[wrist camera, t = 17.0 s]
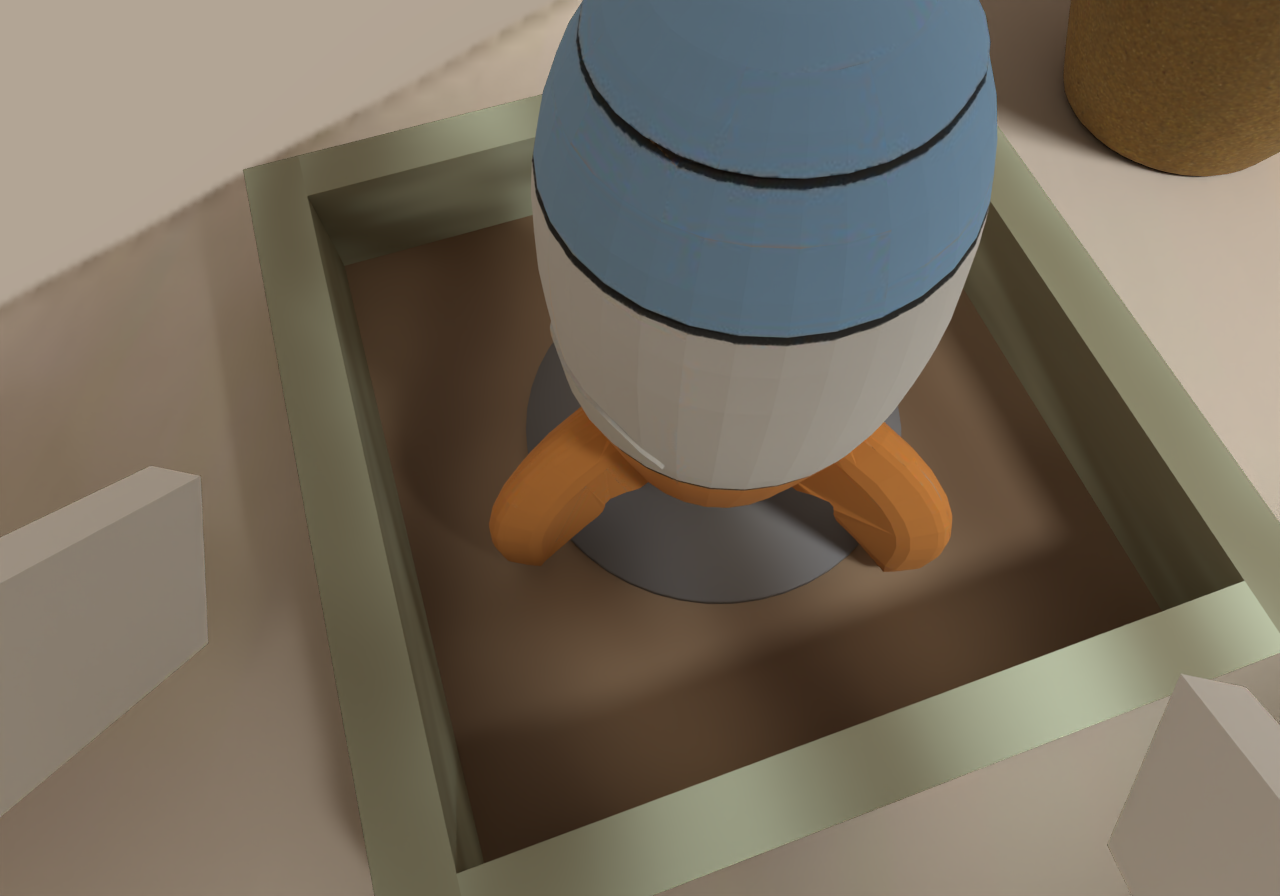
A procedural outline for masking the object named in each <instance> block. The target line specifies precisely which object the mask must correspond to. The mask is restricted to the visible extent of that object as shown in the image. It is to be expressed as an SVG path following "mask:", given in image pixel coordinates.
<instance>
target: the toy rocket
mask: <svg viewBox="0 0 1280 896" xmlns="http://www.w3.org/2000/svg"><path fill="white" fill-rule="evenodd" d="M990 43H991V42H990V36H989V31H988V25H987V19H986V14H985V12H984V10H983V8H982V6H981V3H980V1H979V0H583V1H582V3H581V4H580V6H579V8H578V9H577V11H576V12H575V14H574V15H573V17H572V18H571V20H570V22H569V23H568V26H567V28H566V31H565V33H564V35H563V38H562V40H561V42H560V45H559V47H558V50H557V52H556V55H555V58H554V61H553V64H552V67H551V70H550V73H549V76H548V79H547V82H546V85H545V87H544V90H543V94H542V100H541V105H540V111H539V117H538V123H537V128H536V135H535V142H534V149H533V156H532V173H531V201H532V212H533V224H534V235H535V244H536V253H537V261H538V269H539V274H540V278H541V283H542V287H543V292H544V296H545V300H546V304H547V308H548V312H549V315H550V319H551V323H550V332H551V337H552V339H553V342H554V345H555V347H556V350H557V353H558V356H559V358H560V361H561V364H562V367H563V370H564V372H565V375H566V378H567V380H568V383H569V385H570V388H571V390H572V392H573V394H574V396H575V397H576V399H577V400H578V402H579V404H580V405H581V407H580V408H579V409H578V410H576V411H575V412H574V413H573V414H572V415H570V416H569V417H568V418H567V419H565V420H564V421H563V422H562V423H561V424H559V425H558V426H557V427H556V428H555V429H553V430H552V431H551V432H550V433H549V434H548V435H547V436H546V437H545V438H544V439H543V440H542V441H541V442H540V443H539V444H538V445H537V446H536V447H535V448H534V449H533V450H532V451H531V452H530V453H529V454H528V455H527V457H526V458H525V459H524V460H523V461H522V462H521V464H520V465H519V466H518V467H517V469H516V470H515V471H514V472H513V474H512V475H511V476H510V478H509V479H508V480H507V481H506V483H505V484H504V486H503V488H502V490H501V491H500V493H499V495H498V497H497V499H496V501H495V503H494V505H493V507H492V512H491V517H490V521H489V529H490V533H491V538H492V542H493V544H494V546H495V547H496V549H497V550H498V551H499V552H500V553H501V554H502V555H503V556H504V557H505V558H506V559H507V560H508V561H510V562H515V563H521V564H526V565H533V566H542V564H543V563H544V562H545V561H546V560H547V559H548V558H549V557H551V556H552V555H553V554H554V553H555V552H556V551H557V550H559V549H560V548H561V547H562V546H563V545H564V544H566V543H567V542H568V541H569V540H570V539H571V538H572V537H574V536H575V535H576V534H577V533H578V532H579V531H580V530H582V529H583V528H584V527H585V526H586V525H588V524H589V523H590V522H592V521H593V520H594V519H595V518H597V517H598V516H599V515H600V514H601V513H602V512H603V510H604V507H605V504H606V503H607V502H608V501H609V500H610V499H611V498H613V497H616V496H618V495H621V494H623V493H626V492H629V491H633V490H636V489H639V488H641V487H642V486H644V485H645V484H647V483H648V482H649V483H650V484H652V485H653V486H655V487H656V488H658V489H659V490H661V491H662V492H664V493H665V494H668V495H670V496H672V497H674V498H677V499H679V500H681V501H684V502H687V503H691V504H696V505H700V506H704V507H720V508H730V507H737V506H744V505H750V504H753V503H756V502H759V501H762V500H765V499H767V498H770V497H772V496H774V495H776V494H778V493H780V492H782V491H784V490H786V489H788V488H790V487H793V488H794V489H795V490H797V491H799V492H803V493H806V494H810V495H814V496H816V497H818V498H821V499H823V500H825V501H827V502H830V504H831V505H832V506H833V510H834V513H833V515H834V517H835V519H836V521H837V522H838V523H839V524H840V525H841V526H842V527H843V528H844V529H845V530H846V531H847V532H848V533H849V534H850V535H851V536H852V537H853V538H854V539H855V540H856V541H857V542H858V543H859V544H860V545H861V546H862V548H863V549H864V550H865V551H866V552H867V553H868V554H869V556H870V557H871V558H872V559H873V560H874V561H875V562H876V564H877V565H878V566H879V567H880V568H881V570H882V571H883V572H896V571H904V570H912V569H919V568H921V567H923V566H925V565H926V564H928V563H929V562H931V561H932V560H934V559H936V558H937V557H938V556H939V555H940V554H941V553H942V551H943V549H944V548H945V546H946V545H947V543H948V541H949V539H950V537H951V528H952V512H951V509H950V505H949V502H948V498H947V495H946V494H945V492H944V490H943V488H942V487H941V485H940V483H939V482H938V480H937V478H936V476H935V475H934V473H933V471H932V470H931V469H930V467H929V466H928V465H927V464H926V463H925V462H924V460H923V459H922V458H921V457H920V456H919V455H918V453H917V452H916V451H915V450H914V449H913V448H912V447H911V446H910V445H909V444H908V443H907V442H906V441H905V440H904V439H902V438H901V437H900V436H899V435H898V434H897V433H896V432H895V431H894V430H893V429H892V428H890V427H889V426H888V425H887V424H886V423H885V422H884V421H885V420H886V419H887V418H888V417H889V416H890V414H891V413H892V412H893V411H894V410H895V409H896V407H897V406H898V404H899V403H900V402H901V400H902V399H903V398H904V396H905V395H906V393H907V392H908V391H909V389H910V388H911V387H912V385H913V384H914V383H915V381H916V379H917V378H918V376H919V375H920V373H921V372H922V370H923V369H924V367H925V366H926V364H927V362H928V361H929V359H930V358H931V356H932V354H933V353H934V351H935V349H936V348H937V346H938V344H939V342H940V340H941V338H942V336H943V334H944V332H945V330H946V328H947V326H948V324H949V322H950V321H951V318H952V316H953V313H954V310H955V308H956V305H957V302H958V300H959V297H960V295H961V292H962V289H963V287H964V284H965V281H966V279H967V276H968V273H969V270H970V268H971V265H972V262H973V260H974V257H975V254H976V251H977V249H978V246H979V243H980V239H981V236H982V232H983V229H984V225H985V222H986V218H987V215H988V211H989V204H990V198H991V191H992V184H993V177H994V169H995V159H996V148H997V94H996V89H995V83H994V77H993V72H992V66H991V60H990V55H989V52H990Z"/></svg>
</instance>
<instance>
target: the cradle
mask: <svg viewBox="0 0 1280 896" xmlns="http://www.w3.org/2000/svg"><path fill="white" fill-rule="evenodd" d="M541 100H542V94H541V95H537V96H534V97H530V98H526V99H522V100H518V101H514V102H510V103H506V104H502V105H498V106H494V107H490V108H486V109H482V110H478V111H474V112H470V113H466V114H462V115H458V116H454V117H450V118H446V119H442V120H438V121H434V122H430V123H426V124H422V125H418V126H414V127H410V128H406V129H402V130H398V131H394V132H391V133H387V134H383V135H379V136H375V137H371V138H367V139H363V140H359V141H355V142H351V143H347V144H343V145H339V146H335V147H331V148H327V149H323V150H319V151H315V152H311V153H307V154H303V155H299V156H295V157H291V158H287V159H283V160H279V161H275V162H271V163H267V164H263V165H259V166H255V167H251V168H248V169H244V170H243V172H244V177H245V183H246V188H247V194H248V200H249V205H250V211H251V216H252V222H253V227H254V233H255V238H256V244H257V249H258V255H259V260H260V266H261V271H262V277H263V282H264V288H265V293H266V299H267V305H268V310H269V316H270V321H271V327H272V332H273V338H274V343H275V349H276V354H277V360H278V365H279V371H280V376H281V382H282V387H283V393H284V398H285V404H286V410H287V415H288V421H289V426H290V432H291V437H292V443H293V448H294V454H295V459H296V465H297V470H298V476H299V481H300V487H301V492H302V498H303V503H304V509H305V515H306V520H307V526H308V531H309V537H310V542H311V548H312V553H313V559H314V564H315V570H316V575H317V581H318V586H319V592H320V597H321V603H322V609H323V614H324V620H325V625H326V631H327V636H328V642H329V647H330V653H331V658H332V664H333V669H334V675H335V680H336V686H337V691H338V697H339V702H340V708H341V714H342V719H343V725H344V730H345V736H346V741H347V747H348V752H349V758H350V763H351V769H352V774H353V780H354V785H355V791H356V796H357V802H358V807H359V813H360V819H361V824H362V830H363V835H364V841H365V846H366V852H367V857H368V863H369V868H370V874H371V879H372V885H373V890H374V896H653V895H656V894H658V893H661V892H664V891H666V890H669V889H671V888H674V887H677V886H679V885H682V884H684V883H687V882H689V881H692V880H695V879H697V878H700V877H702V876H705V875H708V874H710V873H713V872H715V871H718V870H720V869H723V868H726V867H728V866H731V865H733V864H736V863H739V862H741V861H744V860H746V859H749V858H751V857H754V856H757V855H759V854H762V853H764V852H767V851H770V850H772V849H775V848H777V847H780V846H782V845H785V844H788V843H790V842H793V841H795V840H798V839H801V838H803V837H806V836H808V835H811V834H813V833H816V832H819V831H821V830H824V829H826V828H829V827H831V826H834V825H837V824H839V823H842V822H844V821H847V820H850V819H852V818H855V817H857V816H860V815H862V814H865V813H868V812H870V811H873V810H875V809H878V808H881V807H883V806H886V805H888V804H891V803H893V802H896V801H899V800H901V799H904V798H906V797H909V796H912V795H914V794H917V793H919V792H922V791H924V790H927V789H930V788H932V787H935V786H937V785H940V784H943V783H945V782H948V781H950V780H953V779H955V778H958V777H961V776H963V775H966V774H968V773H971V772H974V771H976V770H979V769H981V768H984V767H986V766H989V765H992V764H994V763H997V762H999V761H1002V760H1005V759H1007V758H1010V757H1012V756H1015V755H1017V754H1020V753H1023V752H1025V751H1028V750H1030V749H1033V748H1035V747H1038V746H1041V745H1043V744H1046V743H1048V742H1051V741H1054V740H1056V739H1059V738H1061V737H1064V736H1066V735H1069V734H1072V733H1074V732H1077V731H1079V730H1082V729H1085V728H1087V727H1090V726H1092V725H1095V724H1097V723H1100V722H1103V721H1105V720H1108V719H1110V718H1113V717H1116V716H1118V715H1121V714H1123V713H1126V712H1128V711H1131V710H1134V709H1136V708H1139V707H1141V706H1144V705H1147V704H1149V703H1152V702H1154V701H1157V700H1159V699H1162V698H1165V697H1167V696H1170V695H1172V693H1173V690H1174V688H1175V686H1176V683H1177V681H1178V679H1179V677H1180V674H1184V675H1189V676H1194V677H1199V678H1204V679H1209V680H1211V679H1214V678H1216V677H1219V676H1221V675H1224V674H1227V673H1229V672H1232V671H1234V670H1237V669H1239V668H1242V667H1245V666H1247V665H1250V664H1252V663H1255V662H1258V661H1260V660H1263V659H1265V658H1268V657H1270V656H1273V655H1276V654H1278V653H1280V523H1279V521H1278V520H1277V518H1276V517H1275V516H1274V514H1273V513H1272V511H1271V510H1270V509H1269V507H1268V506H1267V504H1266V503H1265V502H1264V500H1263V499H1262V497H1261V496H1260V494H1259V493H1258V492H1257V490H1256V489H1255V487H1254V486H1253V485H1252V483H1251V482H1250V480H1249V479H1248V478H1247V476H1246V475H1245V473H1244V472H1243V471H1242V469H1241V468H1240V466H1239V465H1238V463H1237V462H1236V461H1235V459H1234V458H1233V456H1232V455H1231V454H1230V452H1229V451H1228V449H1227V448H1226V447H1225V445H1224V444H1223V442H1222V441H1221V440H1220V438H1219V437H1218V435H1217V434H1216V433H1215V431H1214V430H1213V428H1212V427H1211V425H1210V424H1209V423H1208V421H1207V420H1206V418H1205V417H1204V416H1203V414H1202V413H1201V411H1200V410H1199V409H1198V407H1197V406H1196V404H1195V403H1194V402H1193V400H1192V399H1191V397H1190V396H1189V394H1188V393H1187V392H1186V390H1185V389H1184V387H1183V386H1182V385H1181V383H1180V382H1179V380H1178V379H1177V378H1176V376H1175V375H1174V373H1173V372H1172V371H1171V369H1170V368H1169V366H1168V365H1167V363H1166V362H1165V361H1164V359H1163V358H1162V356H1161V355H1160V354H1159V352H1158V351H1157V349H1156V348H1155V347H1154V345H1153V344H1152V342H1151V341H1150V340H1149V338H1148V337H1147V335H1146V334H1145V333H1144V331H1143V330H1142V328H1141V327H1140V325H1139V324H1138V323H1137V321H1136V320H1135V318H1134V317H1133V316H1132V314H1131V313H1130V311H1129V310H1128V309H1127V307H1126V306H1125V304H1124V303H1123V302H1122V300H1121V299H1120V297H1119V296H1118V294H1117V293H1116V292H1115V290H1114V289H1113V287H1112V286H1111V285H1110V283H1109V282H1108V280H1107V279H1106V278H1105V276H1104V275H1103V273H1102V272H1101V271H1100V269H1099V268H1098V266H1097V265H1096V263H1095V262H1094V261H1093V259H1092V258H1091V256H1090V255H1089V254H1088V252H1087V251H1086V249H1085V248H1084V247H1083V245H1082V244H1081V242H1080V241H1079V240H1078V238H1077V237H1076V235H1075V234H1074V232H1073V231H1072V230H1071V228H1070V227H1069V225H1068V224H1067V223H1066V221H1065V220H1064V218H1063V217H1062V216H1061V214H1060V213H1059V211H1058V210H1057V209H1056V207H1055V206H1054V204H1053V203H1052V202H1051V200H1050V199H1049V197H1048V196H1047V194H1046V193H1045V192H1044V190H1043V189H1042V187H1041V186H1040V185H1039V183H1038V182H1037V180H1036V179H1035V178H1034V176H1033V175H1032V173H1031V172H1030V171H1029V169H1028V168H1027V166H1026V165H1025V163H1024V162H1023V161H1022V159H1021V158H1020V156H1019V155H1018V154H1017V152H1016V151H1015V149H1014V148H1013V147H1012V145H1011V144H1010V142H1009V141H1008V140H1007V138H1006V137H1005V135H1004V134H1003V132H1002V131H1001V130H1000V128H999V127H998V125H997V148H996V159H995V169H994V177H993V184H992V191H991V198H990V204H989V211H988V215H987V218H986V222H985V225H984V229H983V232H982V236H981V239H980V243H979V246H978V249H977V251H976V254H975V257H974V260H973V262H972V265H971V268H970V270H969V273H968V276H967V279H966V281H965V284H964V287H963V289H962V292H961V295H960V297H959V300H958V302H957V305H956V308H955V310H954V313H953V316H952V318H951V321H950V322H949V324H948V326H947V328H946V330H945V332H944V334H943V336H942V338H941V340H940V342H939V344H938V346H937V348H936V349H935V351H934V353H933V354H932V356H931V358H930V359H929V361H928V362H927V364H926V366H925V367H924V369H923V370H922V372H921V373H920V375H919V376H918V378H917V379H916V381H915V383H914V384H913V385H912V387H911V388H910V389H909V391H908V392H907V393H906V395H905V396H904V398H903V399H902V400H901V402H900V403H899V404H898V406H897V407H896V409H895V410H894V411H893V412H892V413H891V414H890V416H889V417H888V418H887V419H886V420H885V421H884V422H885V423H886V424H887V425H888V426H889V427H890V428H892V429H893V430H894V431H895V432H896V433H897V434H898V435H899V436H900V437H901V438H902V439H904V440H905V441H906V442H907V443H908V444H909V445H910V446H911V447H912V448H913V449H914V450H915V451H916V452H917V453H918V455H919V456H920V457H921V458H922V459H923V460H924V462H925V463H926V464H927V465H928V466H929V467H930V469H931V470H932V471H933V473H934V475H935V476H936V478H937V480H938V482H939V483H940V485H941V487H942V488H943V490H944V492H945V494H946V495H947V498H948V502H949V505H950V509H951V512H952V528H951V537H950V539H949V541H948V543H947V545H946V546H945V548H944V549H943V551H942V553H941V554H940V555H939V556H938V557H937V558H936V559H934V560H932V561H931V562H929V563H928V564H926V565H925V566H923V567H921V568H919V569H912V570H904V571H896V572H883V571H882V570H881V568H880V567H879V566H878V565H877V564H876V562H875V561H874V560H873V559H872V558H871V557H870V556H869V554H868V553H867V552H866V551H865V550H864V549H863V548H862V546H861V545H860V544H859V543H858V542H857V541H856V540H855V539H854V538H853V537H852V536H851V535H850V534H849V533H848V532H847V531H846V530H845V529H844V528H843V527H842V526H841V525H840V524H839V523H838V522H837V521H836V519H835V517H834V515H833V513H834V510H833V506H832V505H831V504H830V502H827V501H825V500H823V499H821V498H818V497H816V496H814V495H810V494H806V493H803V492H799V491H797V490H795V489H794V488H793V487H790V488H788V489H786V490H784V491H782V492H780V493H778V494H776V495H774V496H772V497H770V498H767V499H765V500H762V501H759V502H756V503H753V504H750V505H744V506H737V507H730V508H720V507H704V506H700V505H696V504H691V503H687V502H684V501H681V500H679V499H677V498H674V497H672V496H670V495H668V494H665V493H664V492H662V491H661V490H659V489H658V488H656V487H655V486H653V485H652V484H650V483H649V482H648V483H647V484H645V485H644V486H642V487H641V488H639V489H636V490H633V491H629V492H626V493H623V494H621V495H618V496H616V497H613V498H611V499H610V500H609V501H608V502H607V503H606V504H605V507H604V510H603V512H602V513H601V514H600V515H599V516H598V517H597V518H595V519H594V520H593V521H592V522H590V523H589V524H588V525H586V526H585V527H584V528H583V529H582V530H580V531H579V532H578V533H577V534H576V535H575V536H574V537H572V538H571V539H570V540H569V541H568V542H567V543H566V544H564V545H563V546H562V547H561V548H560V549H559V550H557V551H556V552H555V553H554V554H553V555H552V556H551V557H549V558H548V559H547V560H546V561H545V562H544V563H543V564H542V566H533V565H526V564H521V563H515V562H510V561H508V560H507V559H506V558H505V557H504V556H503V555H502V554H501V553H500V552H499V551H498V550H497V549H496V547H495V546H494V544H493V542H492V538H491V533H490V529H489V521H490V517H491V512H492V507H493V505H494V503H495V501H496V499H497V497H498V495H499V493H500V491H501V490H502V488H503V486H504V484H505V483H506V481H507V480H508V479H509V478H510V476H511V475H512V474H513V472H514V471H515V470H516V469H517V467H518V466H519V465H520V464H521V462H522V461H523V460H524V459H525V458H526V457H527V455H528V454H529V453H530V452H531V451H532V450H533V449H534V448H535V447H536V446H537V445H538V444H539V443H540V442H541V441H542V440H543V439H544V438H545V437H546V436H547V435H548V434H549V433H550V432H551V431H552V430H553V429H555V428H556V427H557V426H558V425H559V424H561V423H562V422H563V421H564V420H565V419H567V418H568V417H569V416H570V415H572V414H573V413H574V412H575V411H576V410H578V409H579V408H580V407H581V405H580V404H579V402H578V400H577V399H576V397H575V396H574V394H573V392H572V390H571V388H570V385H569V383H568V380H567V378H566V375H565V372H564V370H563V367H562V364H561V361H560V358H559V356H558V353H557V350H556V347H555V345H554V342H553V339H552V337H551V332H550V323H551V319H550V315H549V312H548V308H547V304H546V300H545V296H544V292H543V287H542V283H541V278H540V274H539V269H538V261H537V253H536V244H535V235H534V224H533V212H532V201H531V173H532V156H533V149H534V142H535V135H536V128H537V123H538V117H539V111H540V105H541Z"/></svg>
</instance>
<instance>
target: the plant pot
mask: <svg viewBox="0 0 1280 896" xmlns="http://www.w3.org/2000/svg"><path fill="white" fill-rule="evenodd" d="M1063 79H1064V88H1065V93H1066V96H1067V99H1068V101H1069V104H1070V105H1071V107H1072V109H1073V111H1074V113H1075V114H1076V116H1077V117H1078V119H1079V120H1080V121H1081V123H1082V124H1083V125H1084V126H1085V127H1086V128H1087V129H1088V130H1089V131H1090V132H1091V133H1092V134H1093V135H1094V136H1095V137H1096V138H1098V139H1099V140H1100V141H1101V142H1103V143H1104V144H1105V145H1107V146H1108V147H1109V148H1111V149H1112V150H1114V151H1116V152H1117V153H1119V154H1120V155H1122V156H1124V157H1127V158H1129V159H1131V160H1133V161H1135V162H1137V163H1140V164H1143V165H1145V166H1148V167H1151V168H1154V169H1157V170H1161V171H1164V172H1169V173H1175V174H1180V175H1192V176H1213V175H1222V174H1229V173H1233V172H1237V171H1241V170H1243V169H1246V168H1248V167H1250V166H1253V165H1255V164H1257V163H1259V162H1261V161H1263V160H1265V159H1267V158H1269V157H1271V156H1273V155H1275V154H1277V153H1278V152H1280V0H1071V4H1070V13H1069V22H1068V31H1067V39H1066V49H1065V61H1064V73H1063Z"/></svg>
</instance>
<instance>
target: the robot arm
mask: <svg viewBox="0 0 1280 896" xmlns="http://www.w3.org/2000/svg"><path fill="white" fill-rule="evenodd" d="M207 644H208V624H207V602H206V579H205V556H204V534H203V511H202V488H201V476H200V475H195V474H190V473H185V472H180V471H175V470H170V469H165V468H160V467H155V466H149V467H147V468H145V469H143V470H140V471H138V472H136V473H134V474H132V475H130V476H128V477H126V478H124V479H122V480H119V481H117V482H115V483H113V484H111V485H109V486H107V487H105V488H103V489H101V490H99V491H96V492H94V493H92V494H90V495H88V496H86V497H84V498H82V499H80V500H78V501H75V502H73V503H71V504H69V505H67V506H65V507H63V508H61V509H59V510H57V511H55V512H52V513H50V514H48V515H46V516H44V517H42V518H40V519H38V520H36V521H34V522H31V523H29V524H27V525H25V526H23V527H21V528H19V529H17V530H15V531H13V532H11V533H8V534H6V535H4V536H2V537H0V817H1V816H3V815H4V814H5V813H6V812H7V811H8V810H10V809H11V808H12V807H13V806H14V805H16V804H17V803H18V802H19V801H20V800H22V799H23V798H24V797H25V796H26V795H28V794H29V793H30V792H31V791H32V790H34V789H35V788H36V787H37V786H38V785H40V784H41V783H42V782H43V781H44V780H46V779H47V778H48V777H49V776H50V775H52V774H53V773H54V772H55V771H56V770H58V769H59V768H60V767H61V766H62V765H63V764H65V763H66V762H67V761H68V760H69V759H71V758H72V757H73V756H74V755H75V754H77V753H78V752H79V751H80V750H81V749H83V748H84V747H85V746H86V745H87V744H89V743H90V742H91V741H92V740H93V739H95V738H96V737H97V736H98V735H99V734H101V733H102V732H103V731H104V730H105V729H107V728H108V727H109V726H110V725H111V724H113V723H114V722H115V721H116V720H117V719H118V718H120V717H121V716H122V715H123V714H124V713H126V712H127V711H128V710H129V709H130V708H132V707H133V706H134V705H135V704H136V703H138V702H139V701H140V700H141V699H142V698H144V697H145V696H146V695H147V694H148V693H150V692H151V691H152V690H153V689H154V688H156V687H157V686H158V685H159V684H160V683H162V682H163V681H164V680H165V679H166V678H167V677H169V676H170V675H171V674H172V673H173V672H175V671H176V670H177V669H178V668H179V667H181V666H182V665H183V664H184V663H185V662H187V661H188V660H189V659H190V658H191V657H193V656H194V655H195V654H196V653H197V652H199V651H200V650H201V649H202V648H203V647H205V646H206V645H207ZM1107 845H1108V848H1109V850H1110V852H1111V854H1112V856H1113V858H1114V860H1115V862H1116V864H1117V866H1118V868H1119V870H1120V872H1121V875H1122V877H1123V879H1124V881H1125V883H1126V885H1127V887H1128V889H1129V891H1130V893H1131V895H1132V896H1280V725H1279V724H1278V722H1277V721H1276V720H1275V719H1274V718H1273V717H1272V716H1271V715H1270V713H1269V712H1268V711H1267V710H1266V709H1265V708H1264V707H1263V706H1262V705H1261V703H1260V702H1259V701H1258V700H1257V699H1256V698H1255V697H1254V696H1253V694H1252V693H1251V692H1250V691H1249V690H1248V689H1247V688H1246V687H1244V686H1239V685H1234V684H1229V683H1224V682H1219V681H1214V680H1209V679H1204V678H1199V677H1194V676H1189V675H1184V674H1180V677H1179V679H1178V681H1177V683H1176V686H1175V688H1174V690H1173V693H1172V695H1171V697H1170V700H1169V702H1168V704H1167V707H1166V709H1165V711H1164V714H1163V716H1162V718H1161V721H1160V723H1159V725H1158V728H1157V730H1156V732H1155V735H1154V737H1153V739H1152V742H1151V744H1150V746H1149V749H1148V751H1147V753H1146V756H1145V758H1144V760H1143V763H1142V765H1141V767H1140V770H1139V772H1138V774H1137V777H1136V779H1135V781H1134V784H1133V786H1132V788H1131V791H1130V793H1129V795H1128V798H1127V800H1126V802H1125V805H1124V807H1123V809H1122V812H1121V814H1120V816H1119V819H1118V821H1117V823H1116V826H1115V828H1114V830H1113V833H1112V835H1111V837H1110V840H1109V842H1108V844H1107Z"/></svg>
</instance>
